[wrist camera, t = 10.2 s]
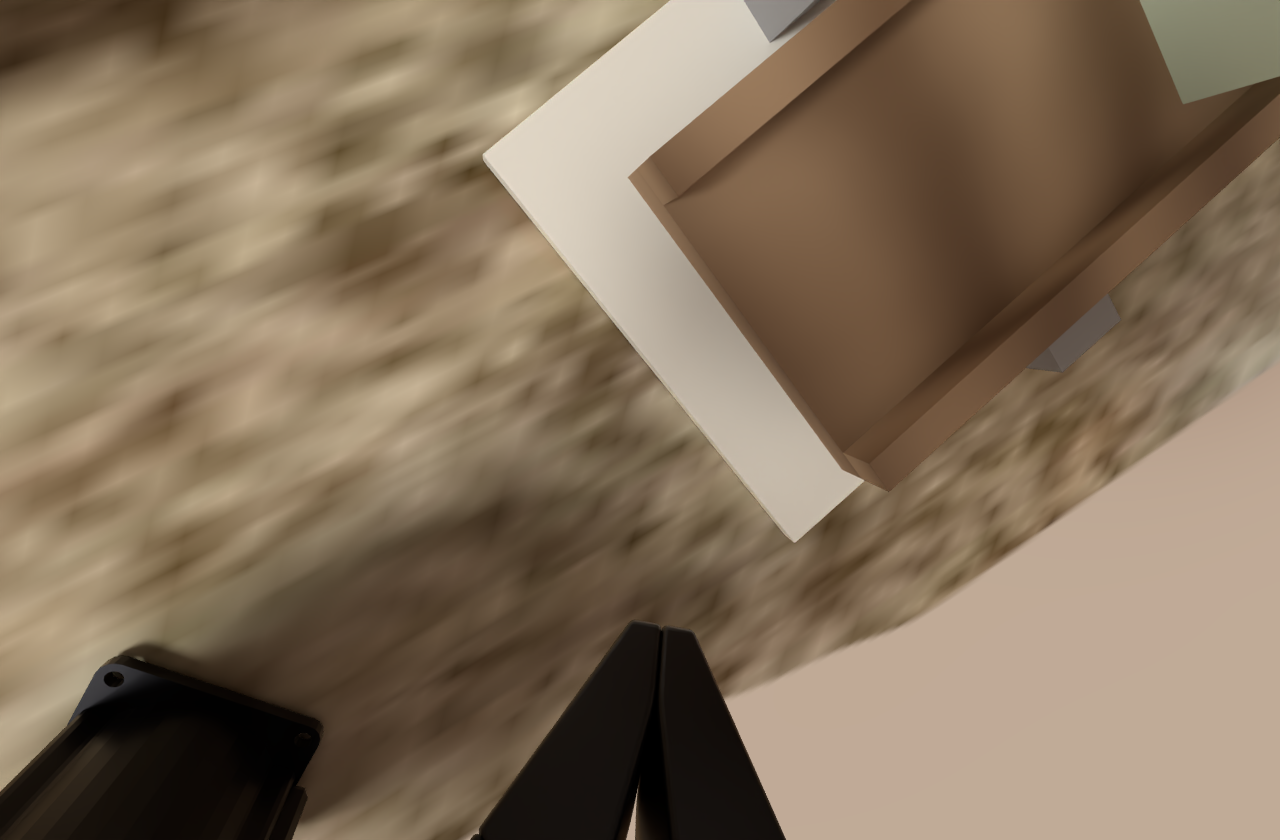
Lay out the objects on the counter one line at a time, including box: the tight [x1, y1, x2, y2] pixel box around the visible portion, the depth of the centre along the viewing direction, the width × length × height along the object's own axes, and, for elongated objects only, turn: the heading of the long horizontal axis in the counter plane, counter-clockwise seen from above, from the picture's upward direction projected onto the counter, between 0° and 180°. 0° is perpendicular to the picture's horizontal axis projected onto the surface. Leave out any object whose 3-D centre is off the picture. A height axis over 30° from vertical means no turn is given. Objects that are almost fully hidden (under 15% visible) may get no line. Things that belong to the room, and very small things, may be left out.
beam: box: [628, 0, 1280, 492], centre depth 16 cm, size 24×10×5 cm, turn 129°
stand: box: [483, 0, 1121, 543], centre depth 19 cm, size 28×16×5 cm, turn 129°
